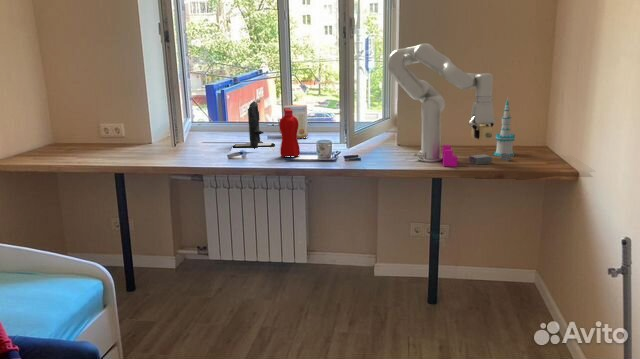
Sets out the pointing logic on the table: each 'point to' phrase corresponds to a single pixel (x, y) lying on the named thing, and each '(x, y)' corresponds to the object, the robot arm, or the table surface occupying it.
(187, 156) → the table surface
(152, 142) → the table surface
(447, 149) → the toy block
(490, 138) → the yellow rectangular block
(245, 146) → the black upright stand
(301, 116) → the cracker box
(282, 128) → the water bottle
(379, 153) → the table surface
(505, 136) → the model tower
